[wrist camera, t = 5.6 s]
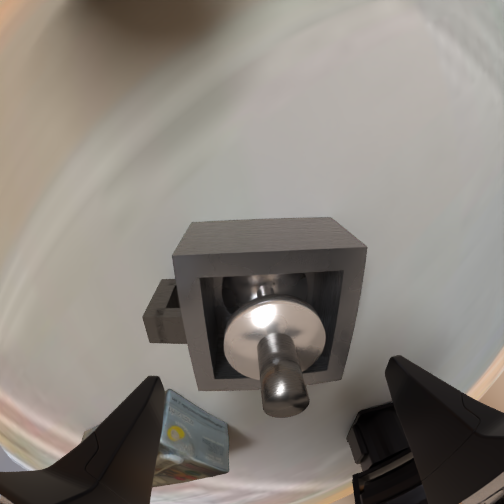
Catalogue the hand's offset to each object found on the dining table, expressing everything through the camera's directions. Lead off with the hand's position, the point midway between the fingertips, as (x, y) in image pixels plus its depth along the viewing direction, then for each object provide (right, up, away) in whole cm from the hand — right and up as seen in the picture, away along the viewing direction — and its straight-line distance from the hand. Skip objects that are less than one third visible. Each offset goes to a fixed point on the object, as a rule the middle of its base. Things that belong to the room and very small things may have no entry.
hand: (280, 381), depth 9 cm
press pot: (-1, +3, +8) cm, 8 cm away
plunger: (0, +3, +7) cm, 8 cm away
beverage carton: (-13, -15, +14) cm, 24 cm away
